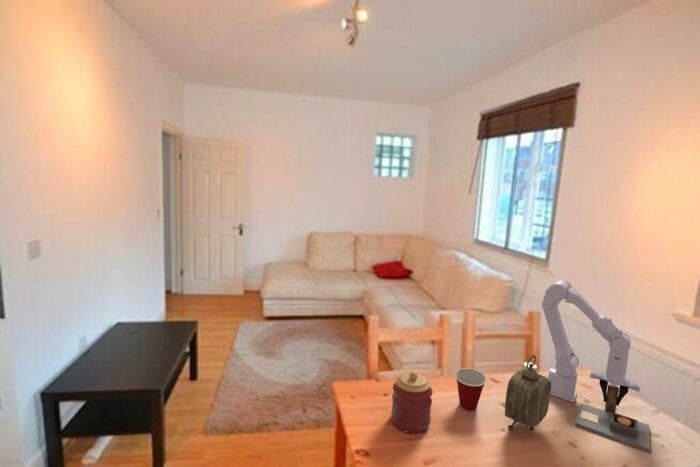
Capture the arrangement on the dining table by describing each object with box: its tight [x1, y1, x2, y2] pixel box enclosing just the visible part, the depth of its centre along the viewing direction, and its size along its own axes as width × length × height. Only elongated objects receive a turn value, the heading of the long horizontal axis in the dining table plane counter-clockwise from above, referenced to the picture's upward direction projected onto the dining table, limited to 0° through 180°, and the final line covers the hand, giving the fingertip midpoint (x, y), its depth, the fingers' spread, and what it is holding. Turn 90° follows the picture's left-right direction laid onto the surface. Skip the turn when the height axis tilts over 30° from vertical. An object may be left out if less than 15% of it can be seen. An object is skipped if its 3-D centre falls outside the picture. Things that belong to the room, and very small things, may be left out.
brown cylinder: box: [604, 383, 620, 413], centre depth 137 cm, size 3×3×9 cm
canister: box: [390, 371, 434, 434], centre depth 126 cm, size 13×13×18 cm
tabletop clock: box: [504, 354, 551, 431], centre depth 125 cm, size 14×9×25 cm, turn 135°
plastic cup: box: [454, 367, 487, 412], centre depth 136 cm, size 11×11×12 cm
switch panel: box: [574, 402, 651, 453], centre depth 129 cm, size 20×15×4 cm
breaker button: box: [617, 417, 631, 427], centre depth 126 cm, size 4×4×1 cm
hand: (611, 402), depth 137 cm, fingers closed on brown cylinder, 3 cm apart
